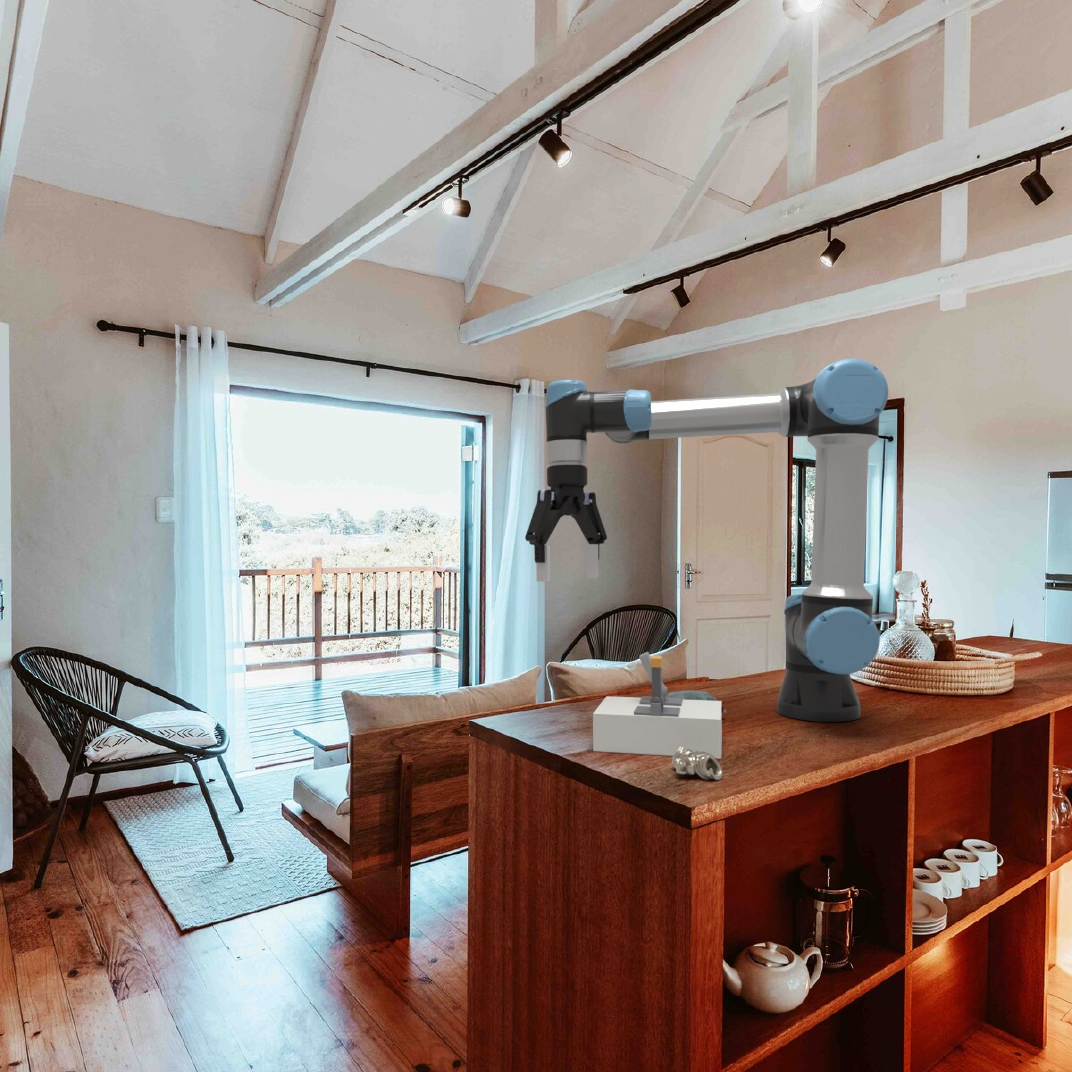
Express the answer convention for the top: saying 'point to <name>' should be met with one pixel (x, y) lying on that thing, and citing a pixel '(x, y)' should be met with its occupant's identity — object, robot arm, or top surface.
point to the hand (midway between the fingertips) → (568, 580)
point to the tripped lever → (656, 680)
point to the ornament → (696, 764)
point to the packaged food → (693, 696)
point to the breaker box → (657, 724)
